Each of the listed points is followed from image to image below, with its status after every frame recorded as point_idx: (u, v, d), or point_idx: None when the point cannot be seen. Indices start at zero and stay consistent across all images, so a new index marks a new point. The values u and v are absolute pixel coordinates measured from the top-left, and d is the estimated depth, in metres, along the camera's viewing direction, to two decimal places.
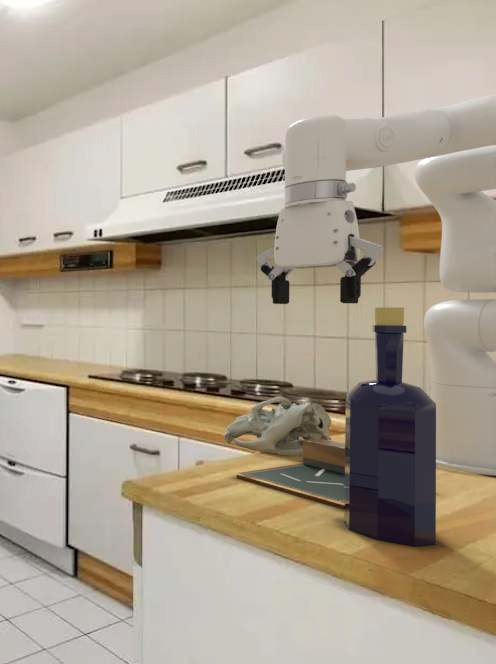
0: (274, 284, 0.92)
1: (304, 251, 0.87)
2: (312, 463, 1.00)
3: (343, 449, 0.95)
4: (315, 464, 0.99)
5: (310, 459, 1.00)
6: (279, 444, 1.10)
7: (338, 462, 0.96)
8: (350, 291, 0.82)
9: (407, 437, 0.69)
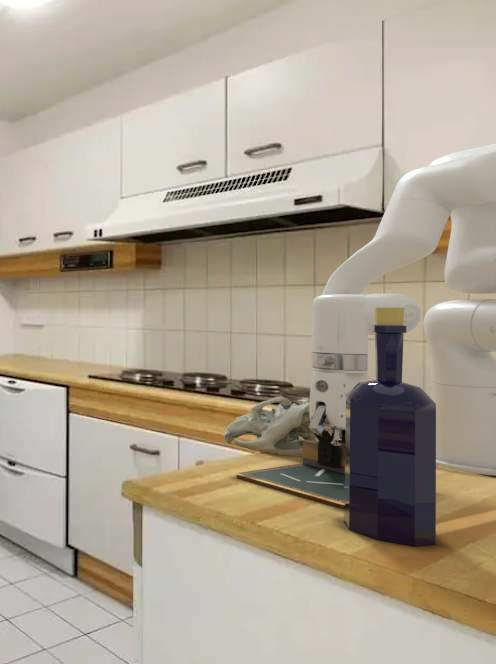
0: None
1: None
2: (312, 463, 1.00)
3: (343, 449, 0.95)
4: (315, 464, 0.99)
5: (310, 459, 1.00)
6: (279, 444, 1.10)
7: None
8: None
9: (407, 437, 0.69)
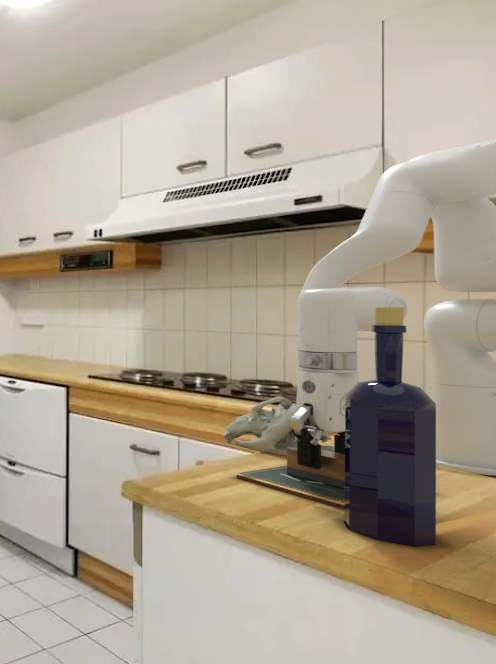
0: None
1: None
2: (297, 473, 0.94)
3: (329, 458, 0.89)
4: (300, 474, 0.93)
5: (294, 468, 0.94)
6: (279, 444, 1.10)
7: (324, 472, 0.90)
8: None
9: (407, 437, 0.69)
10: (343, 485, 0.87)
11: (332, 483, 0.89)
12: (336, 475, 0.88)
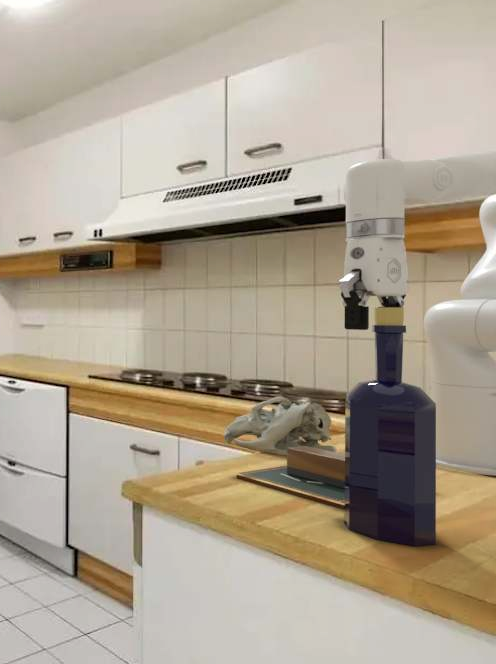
0: None
1: None
2: (297, 473, 0.94)
3: (329, 458, 0.89)
4: (300, 474, 0.93)
5: (294, 468, 0.94)
6: (279, 444, 1.10)
7: (324, 472, 0.90)
8: None
9: (407, 437, 0.69)
10: (343, 485, 0.87)
11: (332, 483, 0.89)
12: (336, 475, 0.88)
